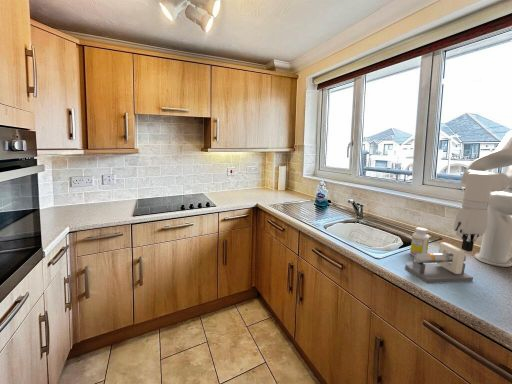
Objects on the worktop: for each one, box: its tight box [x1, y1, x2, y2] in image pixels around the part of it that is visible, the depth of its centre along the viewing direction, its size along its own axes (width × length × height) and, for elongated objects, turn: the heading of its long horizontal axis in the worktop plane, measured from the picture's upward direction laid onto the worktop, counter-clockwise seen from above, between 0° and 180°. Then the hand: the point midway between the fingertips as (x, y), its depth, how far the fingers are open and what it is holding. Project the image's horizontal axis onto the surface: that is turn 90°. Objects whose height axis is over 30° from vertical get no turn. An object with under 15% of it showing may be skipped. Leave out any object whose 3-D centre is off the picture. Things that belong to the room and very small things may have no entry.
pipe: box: [412, 252, 467, 274], centre depth 105 cm, size 19×4×7 cm, turn 97°
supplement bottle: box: [410, 226, 430, 257], centre depth 123 cm, size 7×7×13 cm
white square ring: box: [436, 242, 466, 274], centre depth 105 cm, size 2×9×9 cm, turn 7°
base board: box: [404, 263, 474, 284], centre depth 106 cm, size 19×12×2 cm, turn 97°
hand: (466, 250), depth 105 cm, fingers closed
